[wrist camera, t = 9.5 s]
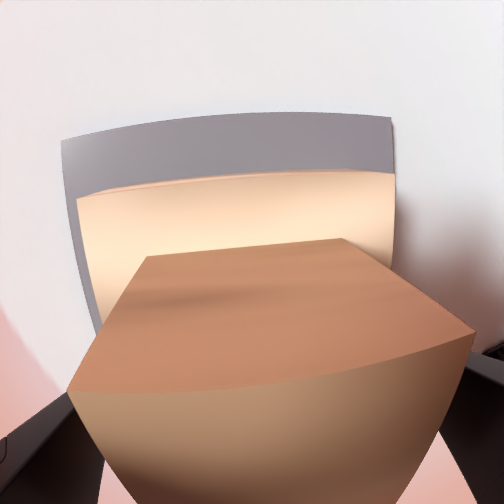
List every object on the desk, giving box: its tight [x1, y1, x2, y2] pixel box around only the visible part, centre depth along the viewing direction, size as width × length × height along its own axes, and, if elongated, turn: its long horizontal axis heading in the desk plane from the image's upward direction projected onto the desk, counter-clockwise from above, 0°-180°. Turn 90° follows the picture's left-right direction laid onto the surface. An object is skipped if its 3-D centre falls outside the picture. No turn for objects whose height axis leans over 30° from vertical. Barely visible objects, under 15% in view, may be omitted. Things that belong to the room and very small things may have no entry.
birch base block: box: [76, 169, 395, 324], centre depth 12 cm, size 10×10×4 cm
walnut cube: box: [66, 238, 476, 504], centre depth 7 cm, size 6×6×6 cm
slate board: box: [61, 112, 394, 336], centre depth 14 cm, size 15×15×1 cm
